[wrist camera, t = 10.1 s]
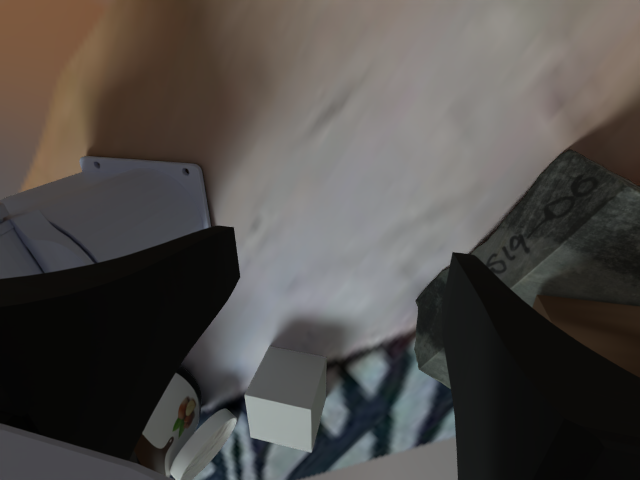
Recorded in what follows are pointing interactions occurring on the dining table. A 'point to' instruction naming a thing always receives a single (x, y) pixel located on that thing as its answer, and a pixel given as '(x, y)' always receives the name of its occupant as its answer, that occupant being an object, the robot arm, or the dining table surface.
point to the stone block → (553, 248)
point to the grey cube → (287, 398)
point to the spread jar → (181, 432)
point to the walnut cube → (597, 327)
